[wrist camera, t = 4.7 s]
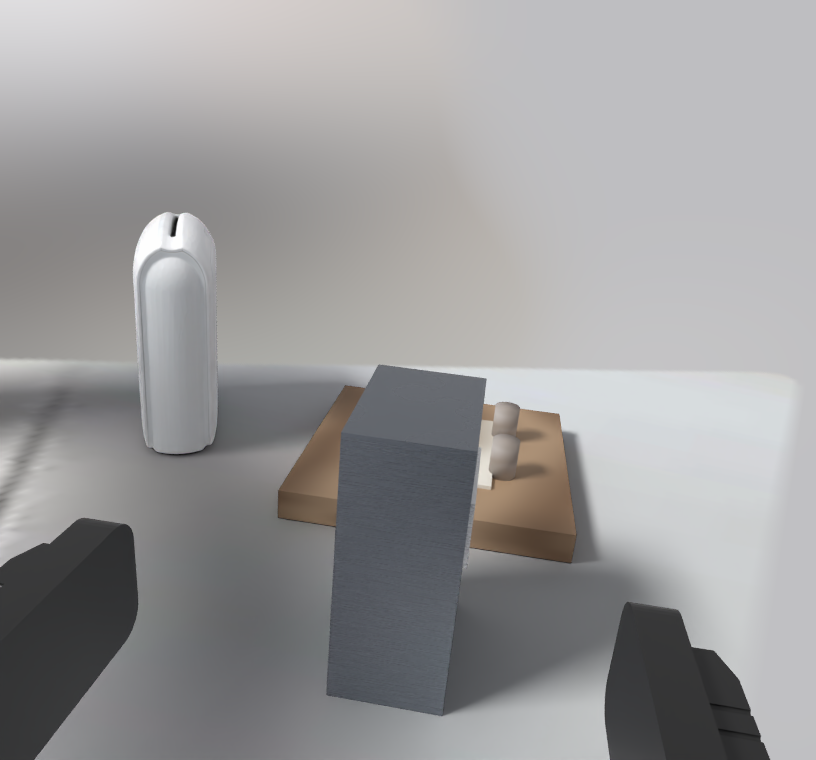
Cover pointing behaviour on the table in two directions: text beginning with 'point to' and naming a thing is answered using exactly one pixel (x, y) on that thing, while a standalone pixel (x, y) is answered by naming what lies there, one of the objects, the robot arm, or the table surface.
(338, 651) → the block
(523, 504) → the pin tray
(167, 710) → the table surface
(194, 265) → the photo printer
